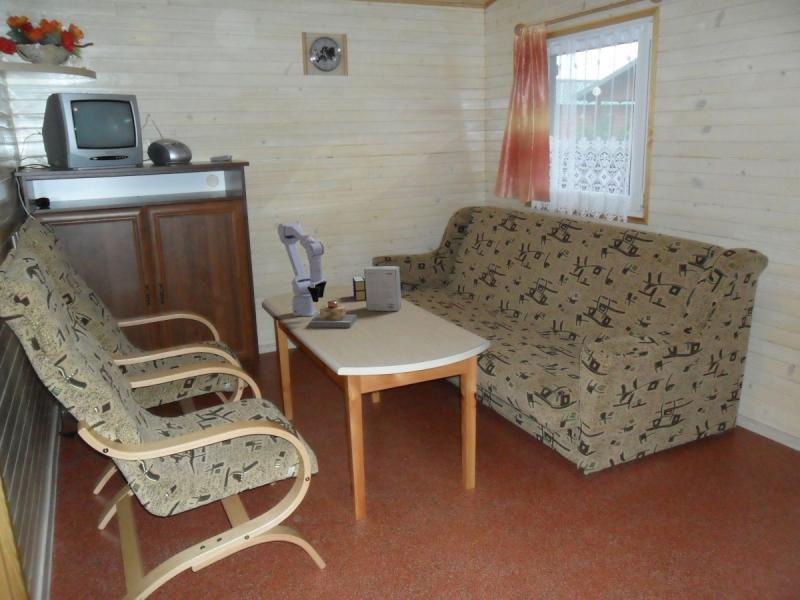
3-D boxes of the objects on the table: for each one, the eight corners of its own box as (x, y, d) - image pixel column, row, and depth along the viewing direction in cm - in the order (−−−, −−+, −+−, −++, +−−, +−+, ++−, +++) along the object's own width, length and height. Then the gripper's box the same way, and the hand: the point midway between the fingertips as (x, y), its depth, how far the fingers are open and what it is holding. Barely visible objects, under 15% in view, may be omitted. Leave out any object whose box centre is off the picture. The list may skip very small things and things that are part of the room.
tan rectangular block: (320, 319, 282) (319, 308, 281) (324, 316, 288) (323, 305, 286) (342, 320, 281) (342, 309, 279) (345, 316, 286) (345, 305, 285)
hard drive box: (401, 307, 307) (400, 266, 302) (397, 311, 300) (395, 269, 295) (370, 306, 311) (368, 265, 306) (365, 310, 304) (363, 269, 299)
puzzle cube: (353, 296, 332) (352, 277, 329) (372, 294, 334) (371, 275, 331) (355, 300, 322) (354, 281, 320) (375, 299, 324) (374, 279, 322)
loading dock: (309, 327, 280) (309, 321, 280) (317, 319, 292) (317, 313, 291) (350, 327, 278) (349, 322, 277) (356, 319, 289) (356, 314, 288)
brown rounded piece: (327, 308, 281) (326, 302, 281) (329, 305, 285) (329, 300, 285) (335, 308, 281) (335, 302, 280) (338, 306, 284) (337, 300, 284)
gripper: (320, 273, 278) (322, 304, 281) (329, 266, 292) (331, 295, 295) (304, 273, 279) (306, 303, 283) (314, 266, 293) (316, 295, 296)
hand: (318, 299), depth 289 cm, fingers open, 7 cm apart
